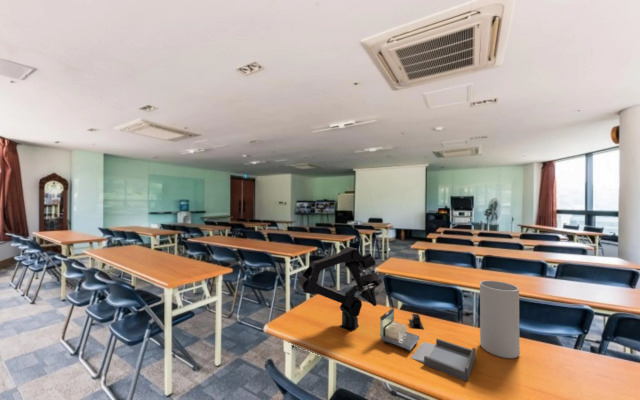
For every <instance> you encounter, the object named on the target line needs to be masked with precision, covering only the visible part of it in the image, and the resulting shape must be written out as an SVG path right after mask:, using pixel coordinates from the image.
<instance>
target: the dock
mask: <svg viewBox="0 0 640 400" xmlns="http://www.w3.org/2000/svg"><path fill="white" fill-rule="evenodd" d="M435 342H436V343H430V342H426V341H425V342H424V341H423V342H422V343H421V344H420V345H419V346H418V348H417V349H416V350H415V352H413V354H412V355H411V357H410V359H412V360H414V361H418V362H420V363H422V364H423V365H424V366H426V367H428V368H431V369H434V370H436V371H438V372H441V373H444V374H447V375H449V376H452V377H453V378H456V379H458V380H461V381H464V382H466V381H467V382H468V381H469V378H470V375H471V372H472V370H473V369H474V368H473V367H474V365H475V362H476V348H475V347H472V348H468V347H464V346H461V345H459V344H456V343H452V342H449V341H446V340H442V339H441V338H436V340H435Z"/></svg>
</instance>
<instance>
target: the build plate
mask: <svg viewBox="0 0 640 400" xmlns="http://www.w3.org/2000/svg"><path fill="white" fill-rule="evenodd" d="M408 322H409V325H410V328H411V329H414V330H416V329H417V330H424V331H425V328H424V326H423V324H422V321H421V316H420V315H419V314H418V313H412V314H411V319H408Z"/></svg>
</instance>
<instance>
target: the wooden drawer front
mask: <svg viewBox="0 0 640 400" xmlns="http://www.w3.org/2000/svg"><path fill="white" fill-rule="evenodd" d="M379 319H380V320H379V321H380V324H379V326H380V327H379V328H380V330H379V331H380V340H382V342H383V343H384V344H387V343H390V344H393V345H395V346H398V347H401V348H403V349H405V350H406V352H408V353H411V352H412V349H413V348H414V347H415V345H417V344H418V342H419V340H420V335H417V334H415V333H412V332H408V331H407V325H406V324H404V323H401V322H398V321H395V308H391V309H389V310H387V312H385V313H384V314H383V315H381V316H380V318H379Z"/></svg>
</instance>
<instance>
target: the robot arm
mask: <svg viewBox="0 0 640 400" xmlns="http://www.w3.org/2000/svg"><path fill="white" fill-rule="evenodd" d="M342 263H343V267H342V269H343V270H346V269H348V271H349V273H350V275H351V277H352V278H351V281H352V282H355V284H356V285H353V286H352V287H350V288H349V289H348V290H345V293H341V292H339V291H336V290H334V289H331V288H328V287H326V286H324V285H322V284H319V283H318V282H319V281H318V280H319V276H320V273H321V271H323V270H325V269H329V268H330V267H331V268H332V267H333V266H336V265H339V264H342ZM376 263H377V262H376V260H375V258H374V257H373V256H372V253H370V252H367V253H366V254H361V253H360V251H359V250H358V248H354V247H350V246H347V247H345V248H343V249H341V250H340V251H339V252H337V253H336V254H332V255H330V256H326V257H324V258H321V259H318V260H313V261H311V262H310V263H309V265H308V267H307V268H306V269H305V270H304V272H303V273H302V275H301V276H300V277H299V278H298V280H297V286H298V287H299V288H300V289H301V291H302V292H304V293H305V294H307V295H308V294H310V295H319V296H322V297H324V298H327V299H329V300H332V301H335V302H337V303H340V304H341V305H339V310H340V311H342V312H341V324H340V326H339V327H340V328H342V329H345V330H347V331H350V332H353V331H354V330H356V329H357V328H358V327H359V326H360V325H359V322H358V321H359V318H358V316H360V312H361V309H362V306H363V302H362V300H361V299H360V297H361V298H362V299H364V300H366V302H368V303H370V304H371V305H372V306H373V307H377V305H378V304H377V298H376V294H375V290H376V288H379V286H381V285H382V284H383V281H382V279H381V278H379V276H380V273H379V272H378V270H377V269H372V268H374V267H375V266H376ZM369 269H372V270H371V271H370V272H369V273H368V272H367V271H366V270H369ZM356 293H359V294H358V296H357V295H356Z"/></svg>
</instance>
